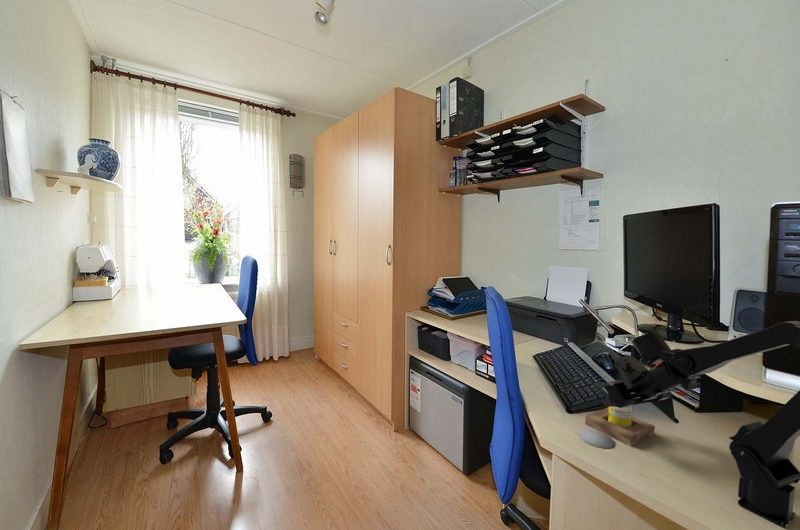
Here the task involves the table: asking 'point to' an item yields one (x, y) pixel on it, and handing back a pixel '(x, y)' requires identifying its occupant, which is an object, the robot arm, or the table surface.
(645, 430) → the holder block
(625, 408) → the supplement bottle
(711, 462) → the table surface
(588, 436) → the grey oval disc
